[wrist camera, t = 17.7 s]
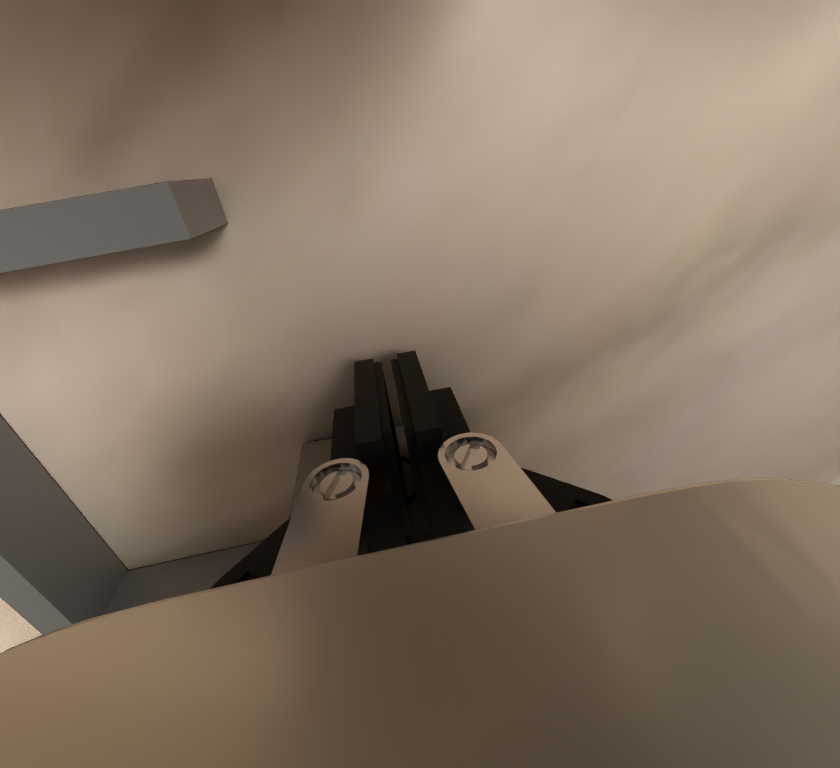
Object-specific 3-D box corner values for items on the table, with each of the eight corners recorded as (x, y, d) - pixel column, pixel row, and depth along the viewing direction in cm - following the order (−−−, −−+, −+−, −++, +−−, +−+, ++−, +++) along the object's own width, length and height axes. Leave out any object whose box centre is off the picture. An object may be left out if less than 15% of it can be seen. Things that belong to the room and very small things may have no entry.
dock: (211, 178, 9) (167, 182, 7) (344, 541, 16) (342, 601, 14) (-192, 246, 9) (-369, 272, 7) (114, 592, 15) (74, 663, 13)
